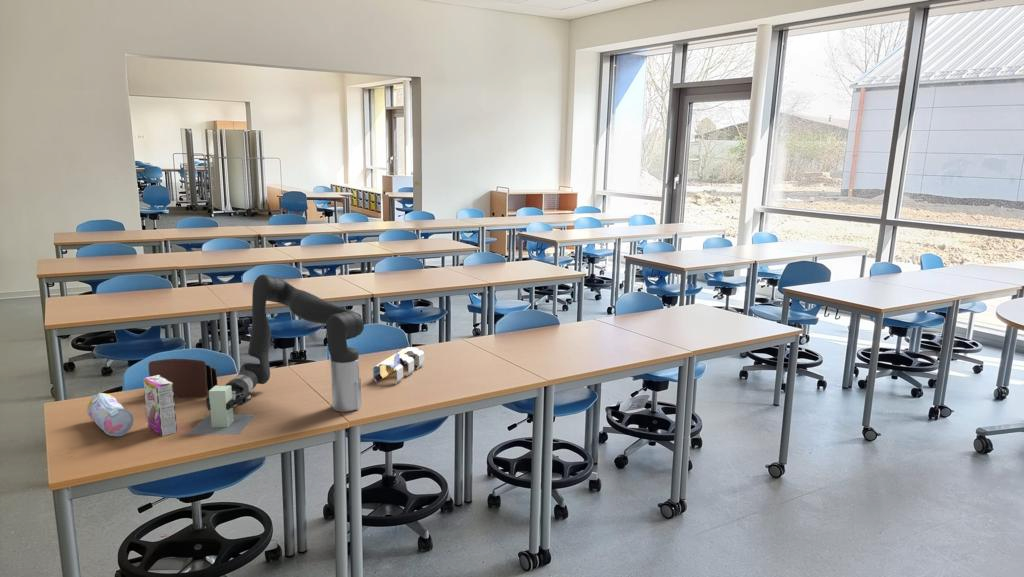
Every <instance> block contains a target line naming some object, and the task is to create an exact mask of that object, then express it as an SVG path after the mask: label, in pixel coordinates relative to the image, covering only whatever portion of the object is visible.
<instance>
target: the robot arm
mask: <svg viewBox="0 0 1024 577" xmlns="http://www.w3.org/2000/svg"><path fill="white" fill-rule="evenodd" d="M251 296H252V299H251V300H252V302H251V303H252V306H251V312H252V313H251V316H252V318H251V320H252V322H251V333H250V339H249V343H248V351H247V354H248V355H249V356H250V357H253V358H256V359H258V361H259V363H260V364H259V363H253V362H246V363H243V364H242V365H241V366H240V368H239V372H238V374H237V375H236V376H234V377H233V378H231V380H229V381H227V383H226V384H224V386H231V389H232V400H229V401H228V402H227V403H226V410H229V409H230V408H232V407H233V408H234V407H236V406H237V405H238V406H243V405H244V404H246V403H248V402H250V401H251V400H252V395H251V394H252V393H251V391H252V390H253V389H254V388H255V387H256V386H257V384H258V385H259V384H260V385H264V384H266V383H267V382H268V381H269V380H270V379H271V378H270V377H271V366H270V360H269V357H270V356H269V355H270V354H269V353H270V348H271V347H270V346H271V339H272V330H271V327H270V324H269V320H268V317H267V313H266V311H267V310H266V309H267V308H266V305H267V302H271V303H278V304H281V305H284V306H286V307H289V310H290V312H291V313H292V314H294V316H296V317H299V318H300V319H302V320H304V321H306V322H308V323H309V322H310V323H314V324H315V323H316V324H321V325H322V324H324V325H325V327H326V328H325V330H326V339H327V349H328V350H327V351H328V352H329V356H330V376H331V380H330V381H331V399H332V400H331V403H332V404H331V405H332V410H334V411H336V412H353V411H358V410H359V409H360V407H361V406H362V380H361V377H360V362H359V351H358V349H356V348H355V347H350V346H348V342H347V340H351V339H354V338H356V337H359V336H361V334H362V333H363V331H364V328H365V324H364V321H363V318H362V317H361V315H359V313H358V312H355V311H354V310H350V309H347V308H344V307H341V306H338V305H336V304H334V303H331V302H329V301H326V300H325V299H322V298H321V297H318V296H317V295H315V294H312V293H311V292H308V291H305V290H304V289H299V288H296V287H294V286H293V285H291V284H290V283H289V282H287V281H286V280H285V279H283V278H280V277H276V276H272V275H269V274H261V275H260V274H259V276H257V277H256V278H255V280H254V281H253V286H252V294H251ZM205 401H206V402H205V403H206V408H207V410H208V411H210V410H211V409H210V399H209V393H208V395H207V397H205Z"/></svg>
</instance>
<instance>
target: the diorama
mask: <svg viewBox="0 0 1024 577" xmlns="http://www.w3.org/2000/svg"><path fill="white" fill-rule="evenodd" d="M423 364H425V351H423V350H422V349H421V350H420V349H419V348H418V347H413V346H412V347H411V346H407V347H406V348H403V349H401V350H400V349H397V350H396V353H394V354H393V355H391V356H390V357H388V358H386V359H385V360H383V361H381V362H380V363H378V364H376V365H375V366H373V367H372V378H373V379H374V381H375V383H378V382H380V381H381V380H383V379H384V378H386V377H388V376H389V375H390V374H392V373H393V372H395V371H396V381H395V382H394V385H397V384H399V383H400V382H401V381H402V379H403V378H404V365H407V373H406V374H405V377H408V376H410V375H411V374H412V373H413V372H414V370H415V366H417V367H416V370H419V369H420V368H421V367H422V366H423Z"/></svg>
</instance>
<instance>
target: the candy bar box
mask: <svg viewBox="0 0 1024 577" xmlns="http://www.w3.org/2000/svg"><path fill="white" fill-rule="evenodd" d="M142 381H143V390H144V397H145V410H146V417H147V418H146V419H147V426H148V428H149V429H151V430H153V431H154V432H155V433H157V434H158V435H159V436H160V437H165V436H167V435H168V436H169V435H172V434H176V433H178V424H177V415H176V405H175V403H176V402H175V397H174V393H173V383H172V382H170V381H168V380H167V379H165V378H163V377H162V376H160V375H155V376H150V377H149V376H146V377H143V378H142Z"/></svg>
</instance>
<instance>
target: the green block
mask: <svg viewBox="0 0 1024 577" xmlns="http://www.w3.org/2000/svg"><path fill="white" fill-rule="evenodd" d="M209 399H210V409H211V410H209V411H210V415H211V424H212V427H229V425H230V424H231V423H232V422H233V421H234V417H233V415H234V406H233V407H232V408H230V409H229V410H226V403H227V402H228V401H229V400H232V389H231V386H225V385H218V386H214V387H213V388H212V389H211V390H209Z"/></svg>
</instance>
